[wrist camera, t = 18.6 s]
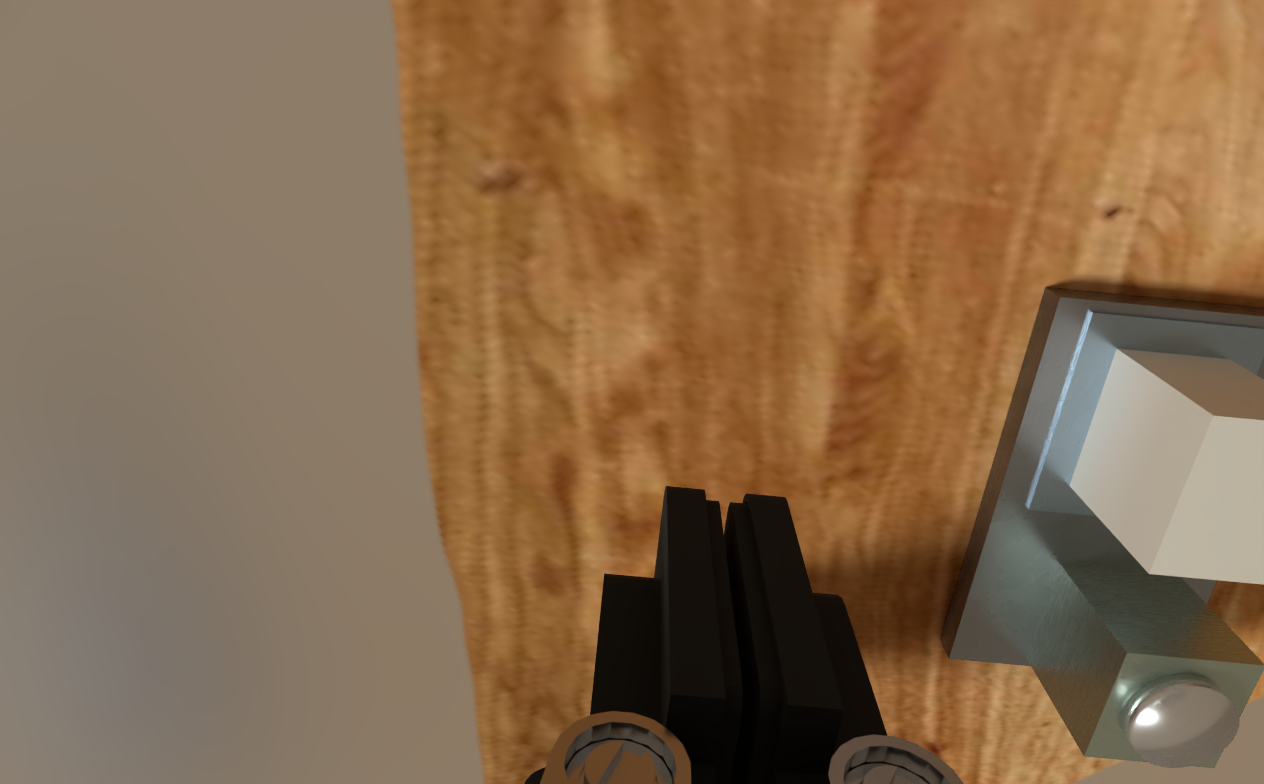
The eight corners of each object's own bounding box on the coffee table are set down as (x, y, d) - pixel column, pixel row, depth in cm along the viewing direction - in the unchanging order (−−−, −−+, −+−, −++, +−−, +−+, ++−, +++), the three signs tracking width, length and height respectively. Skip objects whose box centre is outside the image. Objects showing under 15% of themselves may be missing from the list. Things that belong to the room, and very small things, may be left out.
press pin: (1085, 597, 40) (1152, 686, 35) (1174, 605, 41) (1255, 695, 35) (1058, 667, 42) (1118, 763, 37) (1144, 675, 42) (1216, 771, 37)
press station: (1045, 287, 37) (1139, 350, 30) (1308, 312, 38) (1465, 380, 30) (940, 639, 45) (994, 756, 38) (1157, 659, 46) (1253, 780, 38)
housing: (1116, 348, 37) (1213, 415, 30) (1228, 359, 37) (1349, 428, 30) (1069, 485, 40) (1149, 573, 33) (1173, 495, 40) (1272, 585, 33)
